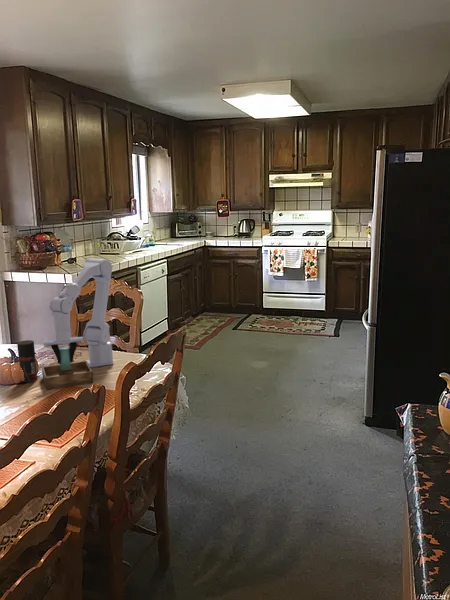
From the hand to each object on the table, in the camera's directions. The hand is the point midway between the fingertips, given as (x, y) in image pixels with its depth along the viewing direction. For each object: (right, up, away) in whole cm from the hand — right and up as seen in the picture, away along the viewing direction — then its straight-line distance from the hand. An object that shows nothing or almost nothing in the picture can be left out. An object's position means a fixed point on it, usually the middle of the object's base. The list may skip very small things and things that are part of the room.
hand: (65, 362), depth 203 cm
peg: (0, -3, +1) cm, 3 cm away
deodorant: (-14, -7, 0) cm, 16 cm away
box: (+1, -7, -1) cm, 7 cm away
